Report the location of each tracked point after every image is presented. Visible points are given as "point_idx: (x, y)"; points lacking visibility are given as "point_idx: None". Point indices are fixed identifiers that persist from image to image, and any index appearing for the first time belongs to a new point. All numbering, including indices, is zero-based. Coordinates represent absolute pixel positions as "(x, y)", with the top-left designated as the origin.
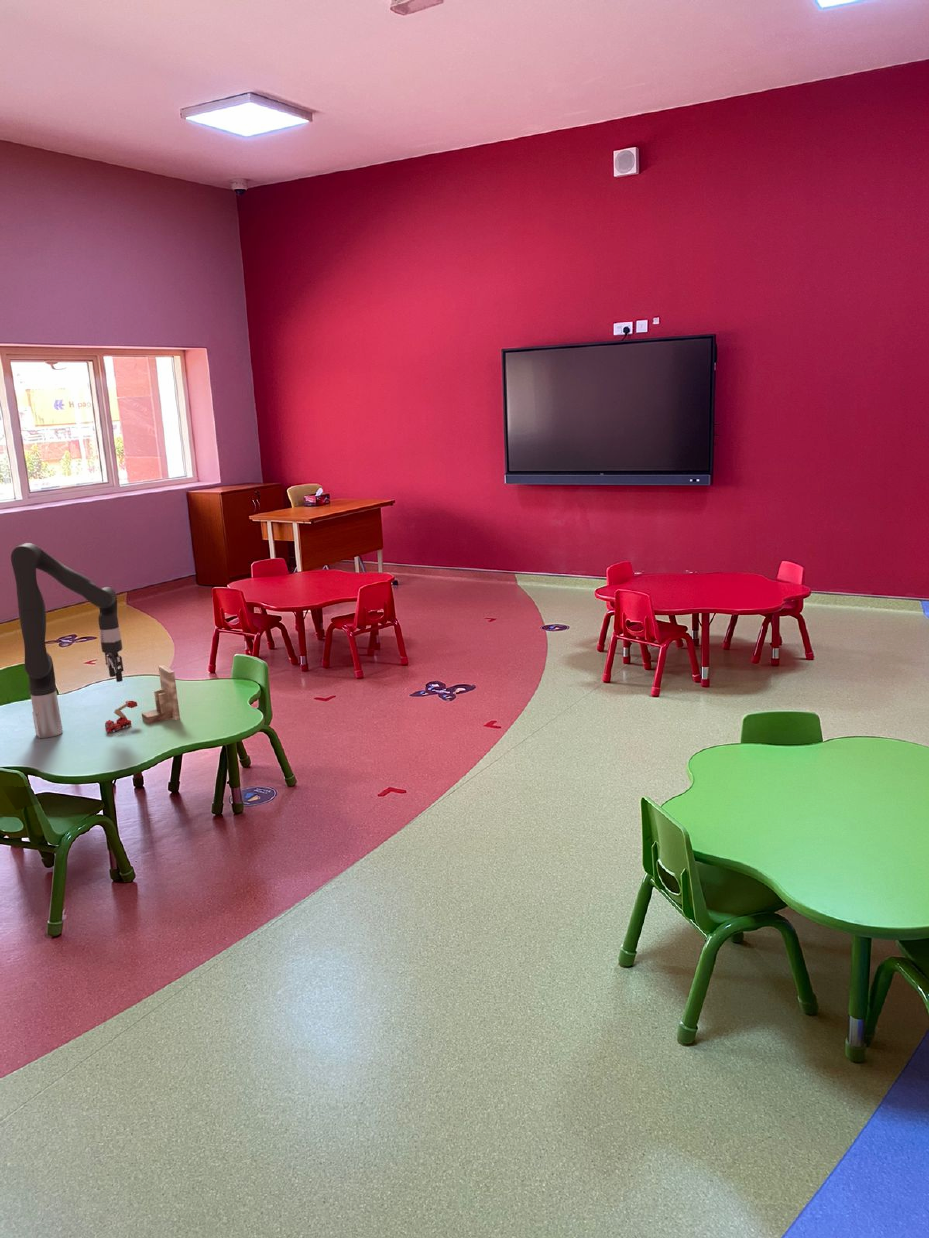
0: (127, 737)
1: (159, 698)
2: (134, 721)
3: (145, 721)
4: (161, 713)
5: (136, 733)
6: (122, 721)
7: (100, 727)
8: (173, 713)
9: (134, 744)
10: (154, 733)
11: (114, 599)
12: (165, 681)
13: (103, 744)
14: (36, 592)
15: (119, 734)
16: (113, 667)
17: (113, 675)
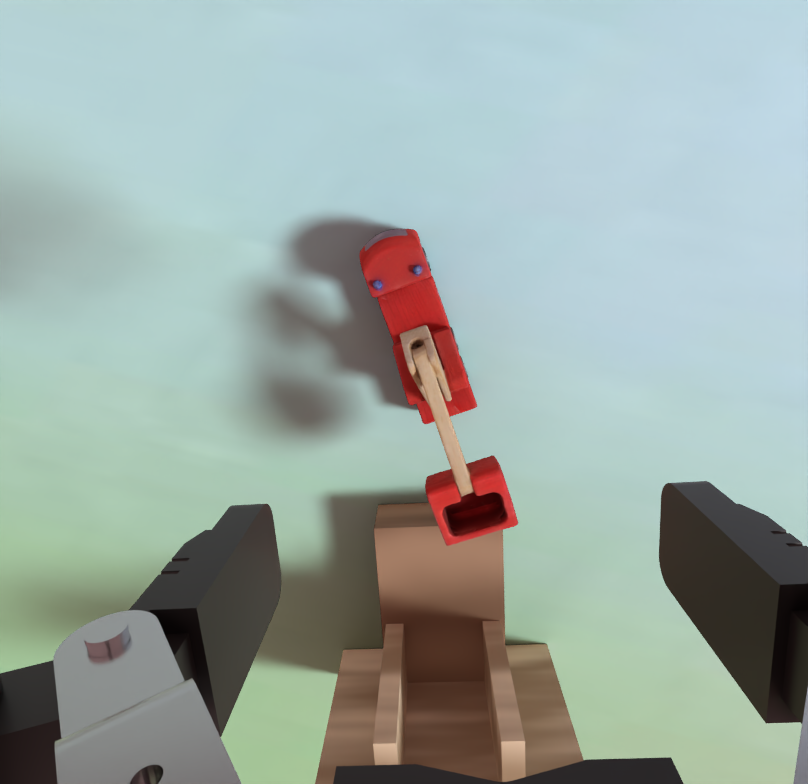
0: (209, 333)
1: (387, 711)
2: (503, 450)
3: (429, 505)
4: (389, 622)
5: (251, 400)
6: (397, 363)
7: (550, 221)
8: (358, 678)
9: (48, 338)
10: (181, 490)
11: None
12: None
13: (165, 158)
14: None
15: (303, 302)
16: (138, 710)
17: (670, 546)
